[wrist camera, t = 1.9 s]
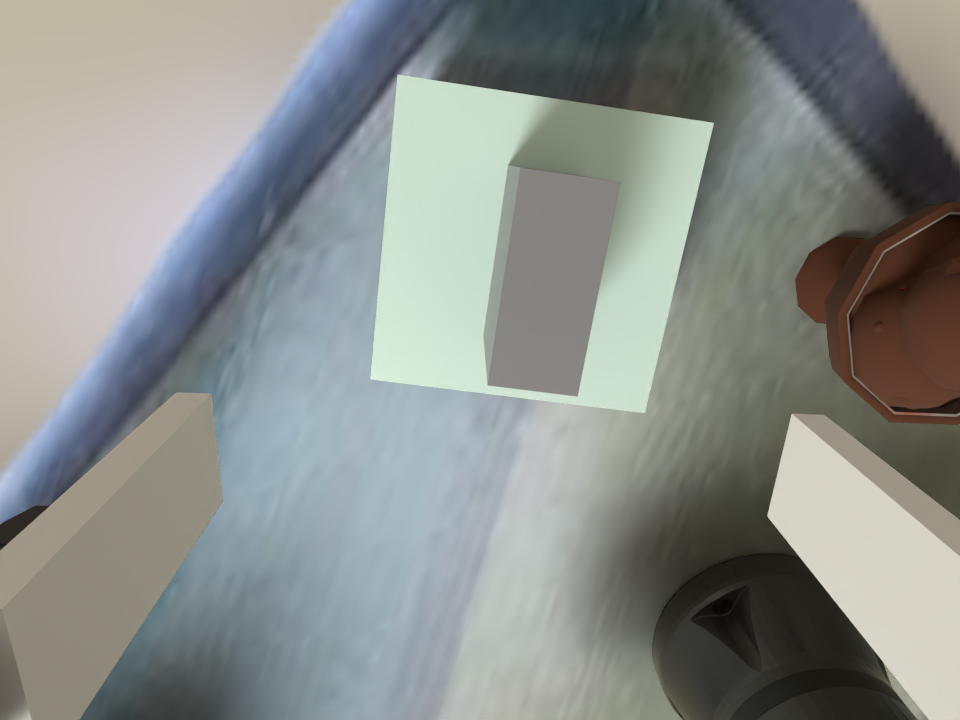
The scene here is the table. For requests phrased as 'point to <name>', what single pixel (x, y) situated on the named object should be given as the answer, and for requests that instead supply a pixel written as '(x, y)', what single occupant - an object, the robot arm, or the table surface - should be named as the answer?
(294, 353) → the table surface
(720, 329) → the table surface
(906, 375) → the ice cream bowl
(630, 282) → the lid
